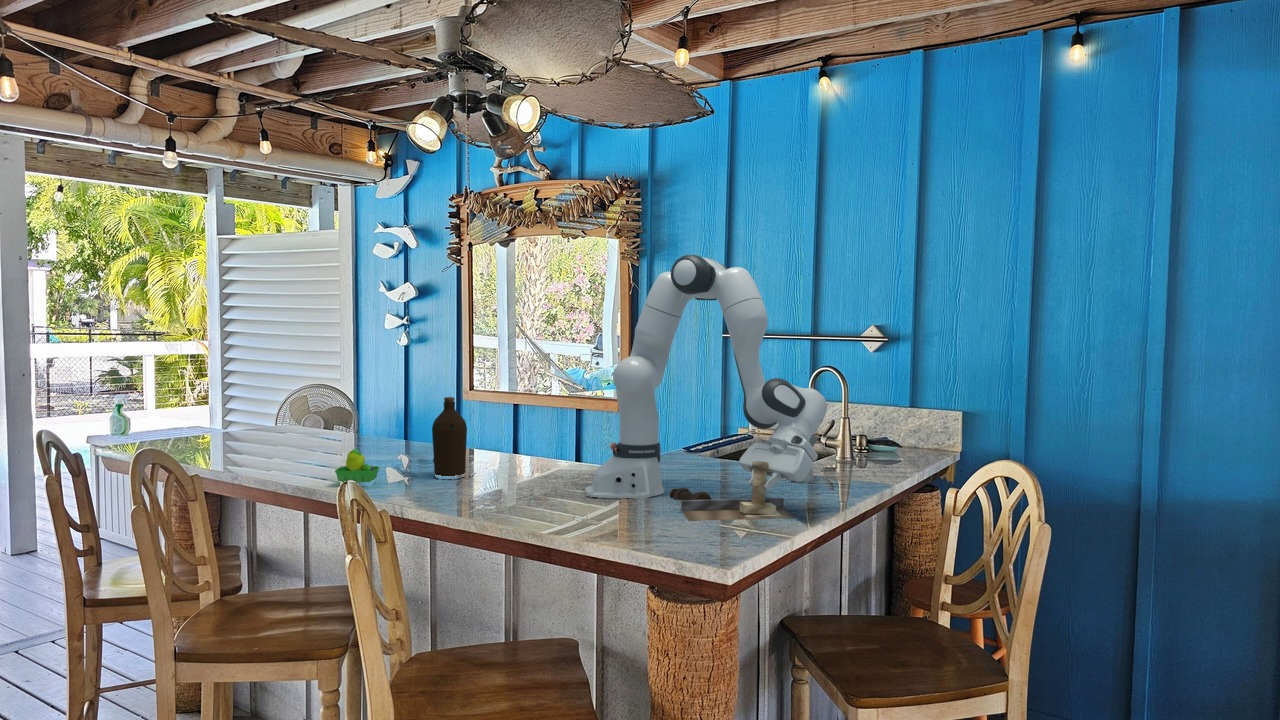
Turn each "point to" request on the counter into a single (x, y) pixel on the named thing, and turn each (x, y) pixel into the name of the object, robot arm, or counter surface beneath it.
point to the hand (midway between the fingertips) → (758, 487)
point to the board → (728, 509)
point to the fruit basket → (356, 469)
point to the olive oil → (449, 441)
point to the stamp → (758, 492)
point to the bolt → (688, 495)
